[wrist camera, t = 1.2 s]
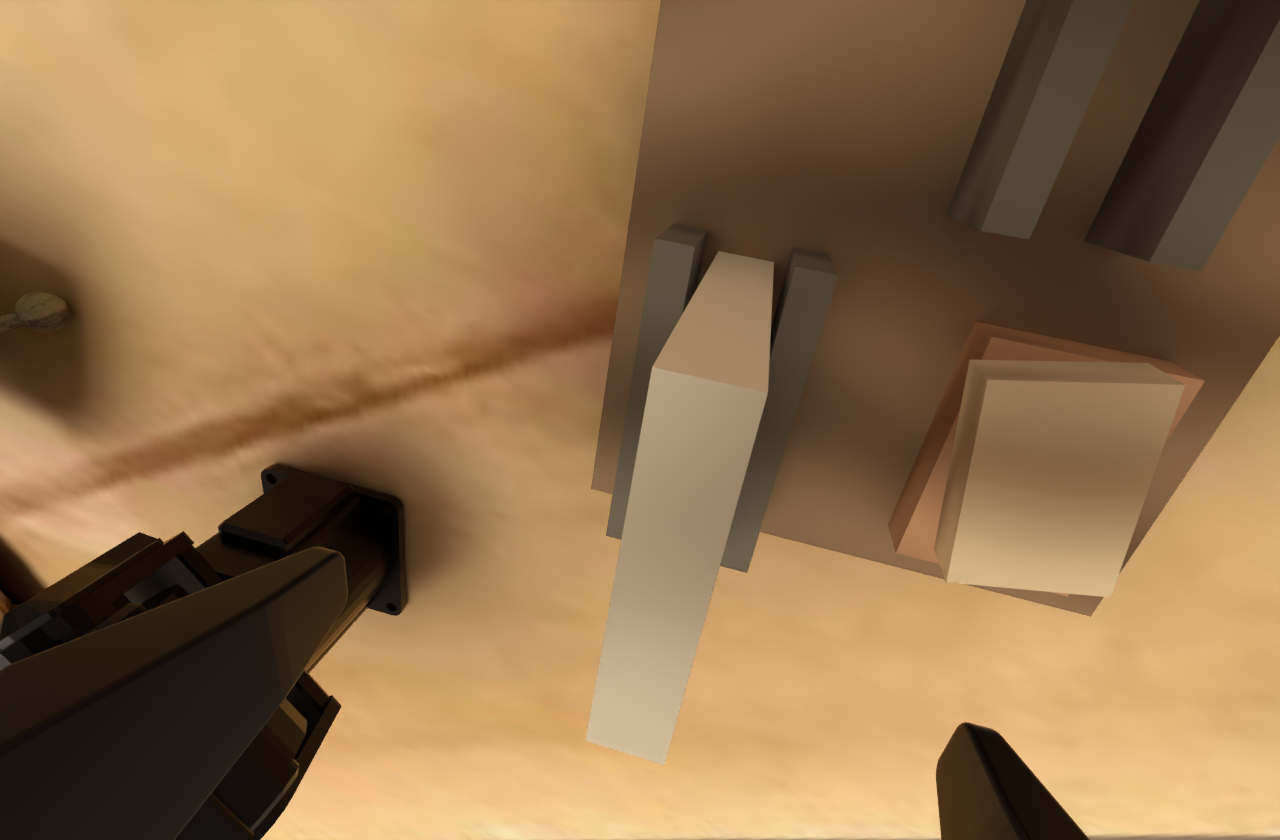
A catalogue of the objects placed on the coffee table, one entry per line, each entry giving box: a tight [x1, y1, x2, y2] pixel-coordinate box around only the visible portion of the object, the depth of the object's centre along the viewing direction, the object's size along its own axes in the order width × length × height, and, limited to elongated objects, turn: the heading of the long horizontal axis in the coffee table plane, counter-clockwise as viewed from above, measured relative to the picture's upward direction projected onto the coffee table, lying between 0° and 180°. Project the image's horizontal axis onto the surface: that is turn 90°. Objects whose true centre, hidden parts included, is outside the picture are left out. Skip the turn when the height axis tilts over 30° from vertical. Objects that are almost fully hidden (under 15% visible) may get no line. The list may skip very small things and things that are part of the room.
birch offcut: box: [934, 360, 1185, 597], centre depth 16 cm, size 6×4×2 cm, turn 3°
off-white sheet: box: [586, 251, 774, 765], centre depth 14 cm, size 8×2×10 cm, turn 171°
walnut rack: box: [591, 0, 1280, 616], centre depth 15 cm, size 20×17×4 cm
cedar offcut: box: [888, 321, 1205, 597], centre depth 17 cm, size 7×5×2 cm
